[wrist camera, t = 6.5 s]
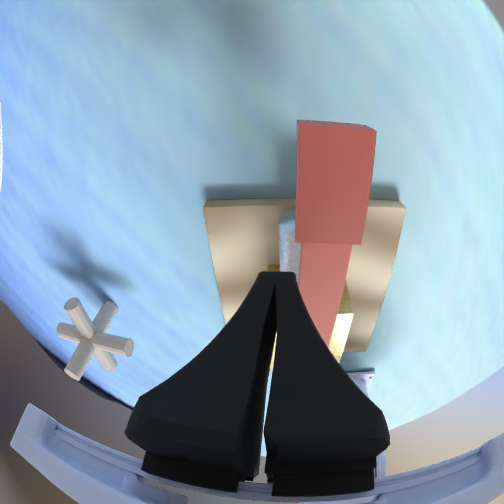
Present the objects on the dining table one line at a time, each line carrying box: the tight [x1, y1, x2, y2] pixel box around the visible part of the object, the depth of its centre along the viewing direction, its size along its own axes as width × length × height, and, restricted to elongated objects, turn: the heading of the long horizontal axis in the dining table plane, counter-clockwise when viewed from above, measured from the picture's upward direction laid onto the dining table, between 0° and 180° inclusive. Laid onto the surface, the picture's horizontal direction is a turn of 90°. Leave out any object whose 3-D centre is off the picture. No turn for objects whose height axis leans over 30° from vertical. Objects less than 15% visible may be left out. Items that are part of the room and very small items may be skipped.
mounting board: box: [203, 198, 406, 352], centre depth 22 cm, size 16×14×1 cm
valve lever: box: [295, 120, 377, 348], centre depth 13 cm, size 15×3×1 cm, turn 2°
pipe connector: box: [57, 298, 134, 380], centre depth 24 cm, size 10×10×10 cm
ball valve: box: [267, 209, 353, 369], centre depth 20 cm, size 16×6×7 cm, turn 4°
